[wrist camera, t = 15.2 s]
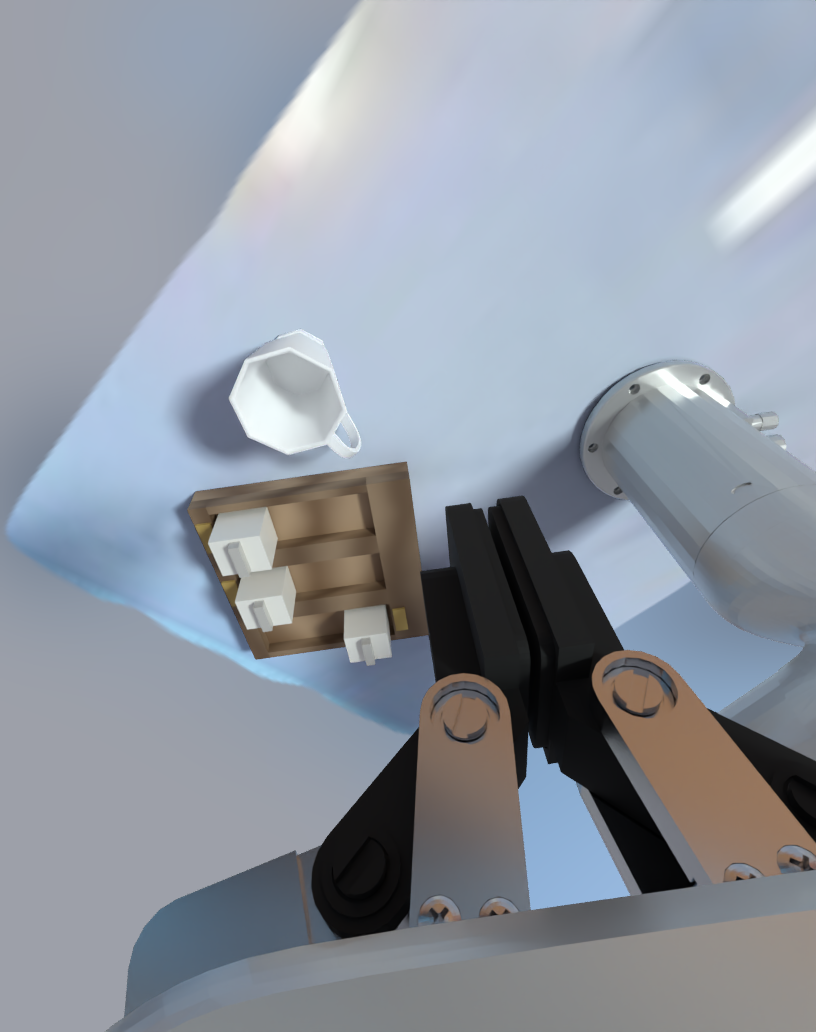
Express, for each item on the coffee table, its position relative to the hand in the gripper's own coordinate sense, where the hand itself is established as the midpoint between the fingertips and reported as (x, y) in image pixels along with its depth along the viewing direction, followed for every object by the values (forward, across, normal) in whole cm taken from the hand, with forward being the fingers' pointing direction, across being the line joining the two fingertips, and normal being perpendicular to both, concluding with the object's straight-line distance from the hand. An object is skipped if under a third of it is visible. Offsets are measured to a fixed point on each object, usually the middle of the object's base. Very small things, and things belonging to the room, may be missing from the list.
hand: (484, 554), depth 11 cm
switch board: (+29, +10, +24) cm, 39 cm away
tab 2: (+27, +7, +30) cm, 42 cm away
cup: (+29, +7, +6) cm, 31 cm away
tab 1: (+27, +15, +17) cm, 36 cm away
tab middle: (+27, +15, +24) cm, 39 cm away
